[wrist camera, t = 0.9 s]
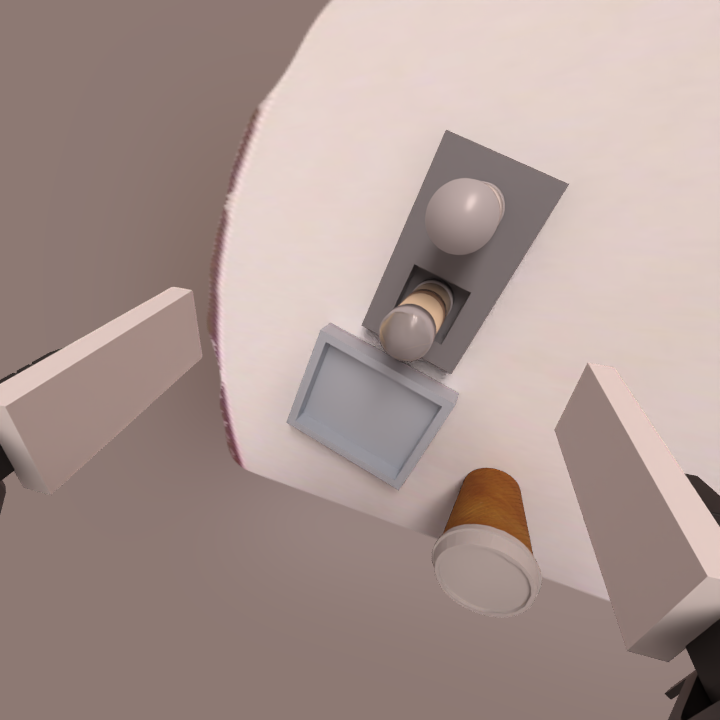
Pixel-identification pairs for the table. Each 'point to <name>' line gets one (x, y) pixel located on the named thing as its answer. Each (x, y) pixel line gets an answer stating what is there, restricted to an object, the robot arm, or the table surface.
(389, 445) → the parts tray
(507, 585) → the disposable coffee cup
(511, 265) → the grey slotted block
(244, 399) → the table surface
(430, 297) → the fuse
